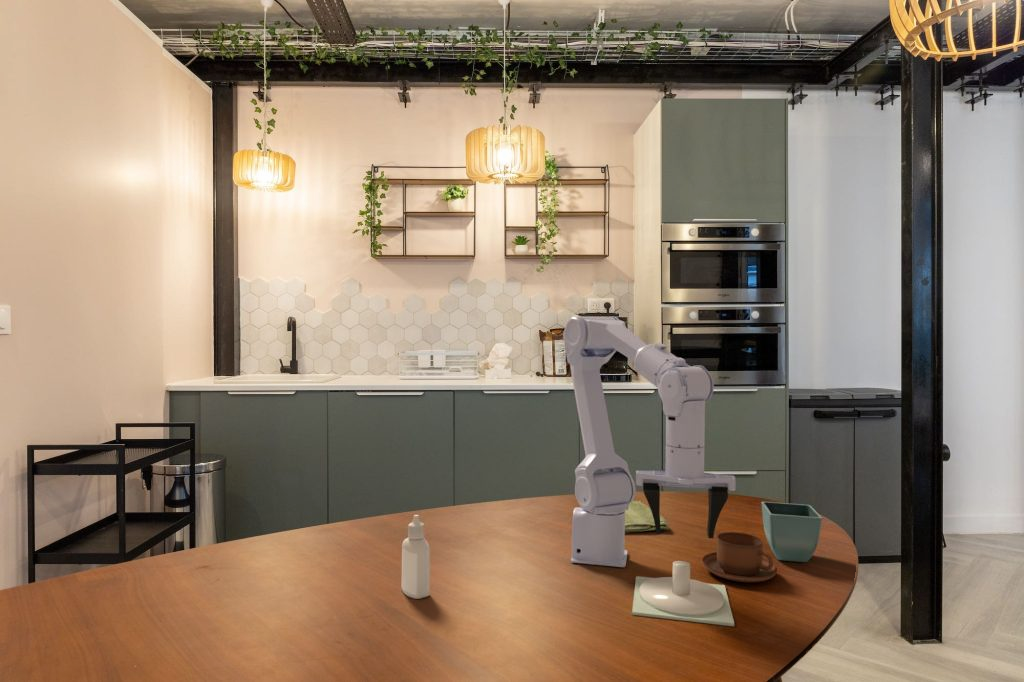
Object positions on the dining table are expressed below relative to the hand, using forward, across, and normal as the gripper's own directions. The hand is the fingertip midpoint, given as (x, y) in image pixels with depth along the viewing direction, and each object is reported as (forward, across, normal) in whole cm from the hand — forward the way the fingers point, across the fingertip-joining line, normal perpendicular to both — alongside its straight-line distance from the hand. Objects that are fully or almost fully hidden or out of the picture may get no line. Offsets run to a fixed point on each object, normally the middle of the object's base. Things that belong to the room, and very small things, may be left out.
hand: (684, 534), depth 96 cm
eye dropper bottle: (+10, -40, -7) cm, 42 cm away
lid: (+10, 0, 0) cm, 10 cm away
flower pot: (+10, +20, +25) cm, 33 cm away
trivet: (+10, 0, 0) cm, 10 cm away
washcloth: (+10, -10, +40) cm, 43 cm away
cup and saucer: (+10, +10, +14) cm, 20 cm away
